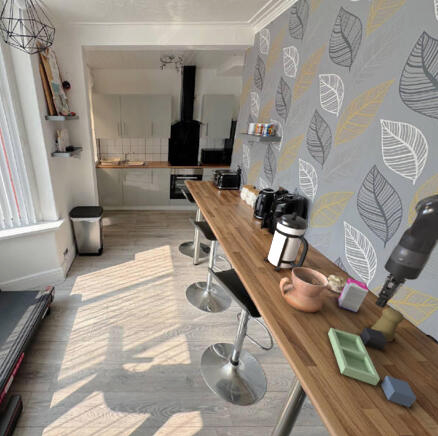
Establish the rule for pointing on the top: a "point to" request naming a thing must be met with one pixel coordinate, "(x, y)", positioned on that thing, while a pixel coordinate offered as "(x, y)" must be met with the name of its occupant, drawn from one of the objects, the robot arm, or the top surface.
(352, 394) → the top surface
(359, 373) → the frame
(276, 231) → the coffee press
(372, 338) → the dark grey block
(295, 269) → the ceramic jug
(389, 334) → the cork
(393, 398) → the blue block
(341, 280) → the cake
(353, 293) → the supplement box
